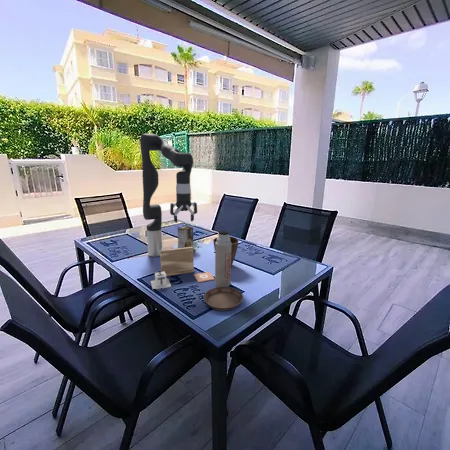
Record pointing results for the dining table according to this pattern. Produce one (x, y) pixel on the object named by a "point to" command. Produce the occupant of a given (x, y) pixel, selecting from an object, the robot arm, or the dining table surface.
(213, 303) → the plant saucer
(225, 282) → the thermos bottle
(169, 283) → the pad
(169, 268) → the screen
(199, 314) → the dining table surface
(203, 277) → the pad
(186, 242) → the coffee box
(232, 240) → the plant pot
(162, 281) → the letter cube
